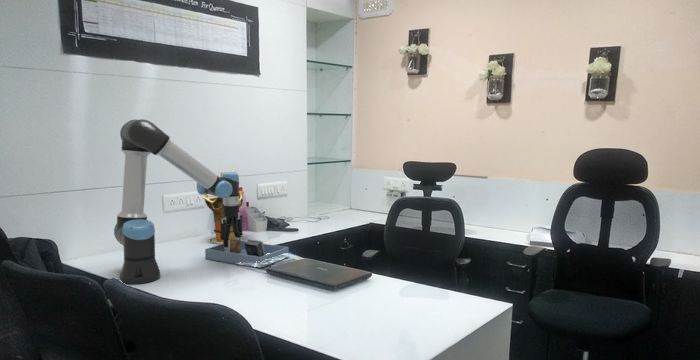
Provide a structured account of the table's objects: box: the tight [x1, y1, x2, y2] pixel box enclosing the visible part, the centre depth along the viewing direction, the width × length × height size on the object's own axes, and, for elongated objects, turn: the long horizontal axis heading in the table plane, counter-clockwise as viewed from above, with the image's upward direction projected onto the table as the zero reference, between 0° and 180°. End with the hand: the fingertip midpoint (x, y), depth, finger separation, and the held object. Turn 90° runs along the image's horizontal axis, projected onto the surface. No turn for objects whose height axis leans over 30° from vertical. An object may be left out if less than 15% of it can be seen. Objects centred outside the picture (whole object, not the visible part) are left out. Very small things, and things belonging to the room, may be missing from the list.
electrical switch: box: [245, 238, 266, 257], centre depth 227 cm, size 9×5×9 cm, turn 57°
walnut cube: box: [223, 239, 241, 253], centre depth 234 cm, size 6×6×6 cm
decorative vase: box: [202, 190, 245, 245], centre depth 265 cm, size 21×23×28 cm
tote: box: [204, 240, 290, 265], centre depth 230 cm, size 22×32×5 cm
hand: (231, 251), depth 234 cm, fingers closed on walnut cube, 6 cm apart
